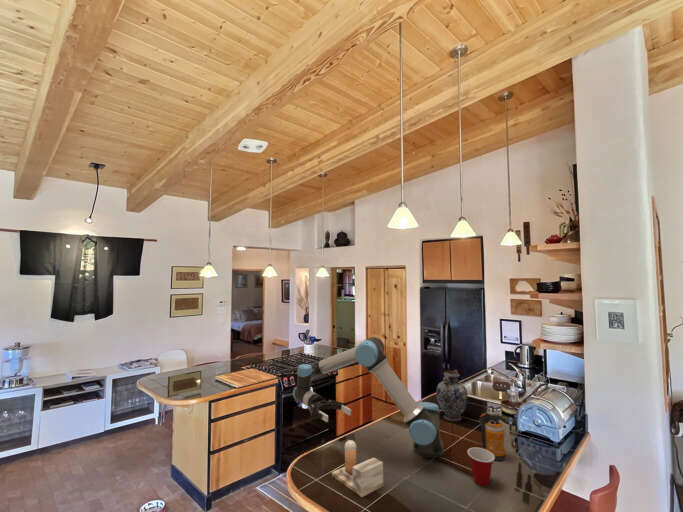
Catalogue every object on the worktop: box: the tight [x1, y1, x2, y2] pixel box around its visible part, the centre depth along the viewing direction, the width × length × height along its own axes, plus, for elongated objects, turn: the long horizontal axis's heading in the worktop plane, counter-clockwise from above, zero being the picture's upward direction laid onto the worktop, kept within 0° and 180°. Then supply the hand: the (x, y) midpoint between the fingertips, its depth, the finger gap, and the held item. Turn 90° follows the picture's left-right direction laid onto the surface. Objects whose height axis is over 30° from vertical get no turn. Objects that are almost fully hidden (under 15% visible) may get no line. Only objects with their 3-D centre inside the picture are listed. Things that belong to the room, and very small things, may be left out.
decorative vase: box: [435, 369, 469, 422], centre depth 218 cm, size 21×19×28 cm
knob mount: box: [331, 457, 384, 498], centre depth 152 cm, size 20×12×10 cm, turn 38°
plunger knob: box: [344, 439, 357, 476], centre depth 155 cm, size 5×5×14 cm
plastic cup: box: [467, 446, 495, 487], centre depth 149 cm, size 11×11×12 cm
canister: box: [479, 412, 507, 461], centre depth 170 cm, size 9×11×20 cm
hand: (339, 415), depth 163 cm, fingers open, 13 cm apart
